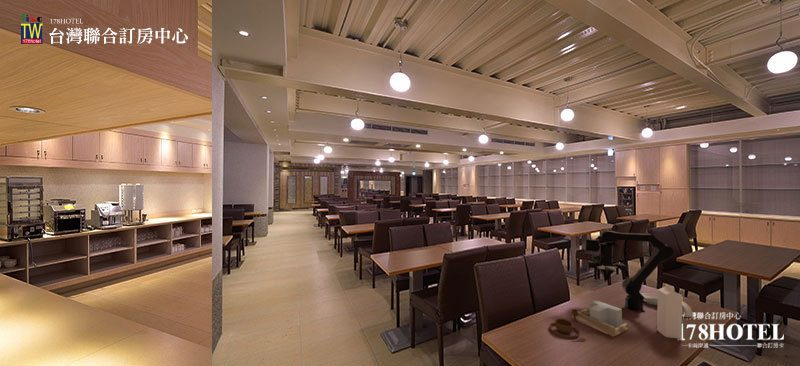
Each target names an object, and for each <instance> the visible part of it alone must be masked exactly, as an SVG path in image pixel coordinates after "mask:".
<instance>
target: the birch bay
mask: <svg viewBox="0 0 800 366" xmlns="http://www.w3.org/2000/svg"><path fill="white" fill-rule="evenodd" d="M571 315H572V314H571ZM573 318H574V316H573V315H572V320H574V319H573ZM575 318H576V320H575V321H576V322H578V323H580V324H583V325H585V326H587V327H590V328H591V329H595V330H597V331H599V332H601V333H604V334H606V335H608V334H609V336H611V337H616V336H618V335H620V334H622V333H624V332H626V331H628V330H629V323H627V322H625V323H622V325H621V326H618V327H614V326H611V325H609V324H606V323H604V322H601V321H599V320H596V319H594V318H591V317H590V308H584V309H582V310H580V311H579V310H578V314H577V316H575Z"/></svg>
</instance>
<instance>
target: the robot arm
mask: <svg viewBox="0 0 800 366" xmlns="http://www.w3.org/2000/svg"><path fill="white" fill-rule="evenodd" d="M584 240H585V241H584V243H583V249H584V252H595V253H593V254H591V260H587V259H586V260H585V261H584V265H585V266H586V267H587V268H590V269H598V270H599V271H600V273H601V277H602V279H603V281H604V282H607V281H608V279H609V278H610V277H611V275H612V274H613V273H614V272H616V270H615V269H619V271H622V272H628V269H629V267H628V266H627V265H626V264H624V263H622V262H615V263H613V259H615V258H614V256H613V255H614V254H613V253H614V252H613V251H614V247H618V246H619V245H618V244H617V243H616V242H619V241H630V242H647V243H648V244H649V245H650V246H651V247H652V248H653V249H652V251H651V255H650V256H649V258H648V259H647V260H646V261H645V263H643V265H642V266H640V268H639V270H638V271H637V272H636V273H635V274H634V275H633V276H631V277H628V276H626V277H625V279H624V280H623V281H621V288H622V290H623V291H624V292H625V293H626V298H625V300H624V301H625V303H624V306H625V307H626V309H628V310H629V311H636V312H643V313H644V312H646V311H645V310H644V301H643V300H644V296H643V295H642V294H641V293H642V292H640V291H641V289H642V286H643V283H644V282H645V281H646V280H647V279H648V277H649V276H651V274H652V273H653V272H654V271H655V270H656V269H657V268H658V266H659V265H660V264H661V263H663V262H665V261H666V260H669V259H670V258H671V257H672V256H674V254H675V251H674V248H673V247H672V246H669V245H667V244H665V243H663V242H662V241H660V240H659V239H658V238H656V236H655V235H653V234H651V233H647V232H646V233H637V232H636V233H635V232H634V233H633V232H619V231H614V230H608V229H603V230H601V231H600V232H599V235H598V236H597V237H596V238H595V239H590V238H585V239H584ZM597 252H599V253H598V255H597V254H596V253H597Z"/></svg>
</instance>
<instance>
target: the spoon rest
mask: <svg viewBox="0 0 800 366" xmlns="http://www.w3.org/2000/svg"><path fill="white" fill-rule="evenodd" d="M640 293H641V294H642V295H643V296H644V300H643V302H645V303H646V302H647V303H646V304H648V303H649V304H648V305H652V304H653V306H657V305H658V294H655V293H648V292H647V293H646V292H643V293H642V292H640ZM682 310H683V311H684V317H685V318H692V317H694V314H693V313H694V312H693V311H692V308H691V307H690V306H689V304H687V303H686V302H685V301H683V300H682Z"/></svg>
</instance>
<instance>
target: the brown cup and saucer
mask: <svg viewBox="0 0 800 366" xmlns="http://www.w3.org/2000/svg"><path fill="white" fill-rule="evenodd" d="M578 312H579V310H578V309H576V308H575V309H574V308H572V309H571V315H573V316H574V318H573V319H572V322H571V321H570V320H568V319H565V318H556V319H555V320H554V321H555V322H551V323H550V324H549V326H548V327H549V330H550V331H551V333H553V334H554V335H556V336H558V337H561V338H563V339H571V340H572V338H573V339H576V340H572V341H571V343H576V342H585V341H586V338H585V337H584V338H583V337H582V338H581V337H580V338H578V337H579V336H580V331H579V329H577V328H576V327H575V326H574V323H573V322H575V323H576V322H577V321H576V318H575V316H577V314H578ZM553 328H556V330H558V331H559V332H557V331H555V330H553ZM572 332H575V333H576V334H575V335H568V334H569V333H572ZM577 338H578V339H577Z"/></svg>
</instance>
